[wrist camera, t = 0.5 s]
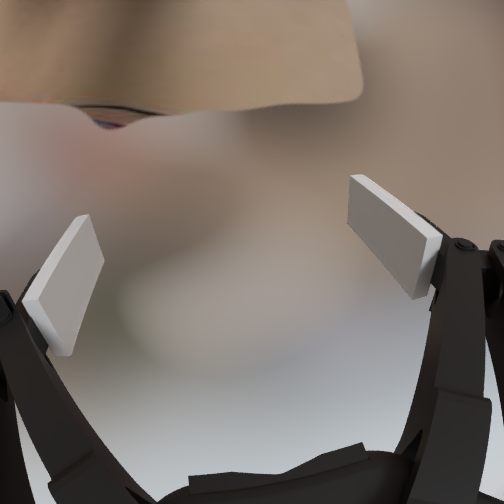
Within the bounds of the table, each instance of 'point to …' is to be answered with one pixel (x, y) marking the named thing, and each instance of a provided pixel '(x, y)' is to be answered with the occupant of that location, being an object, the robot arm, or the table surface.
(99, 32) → the table surface
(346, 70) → the table surface
